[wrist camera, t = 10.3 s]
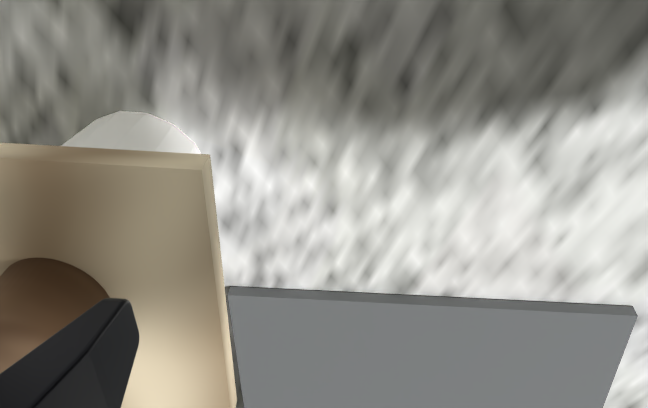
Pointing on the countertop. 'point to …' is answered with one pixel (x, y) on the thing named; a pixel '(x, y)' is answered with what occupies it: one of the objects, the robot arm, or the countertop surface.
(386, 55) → the countertop surface
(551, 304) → the mat
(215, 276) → the lid
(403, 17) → the countertop surface
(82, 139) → the white round cup
